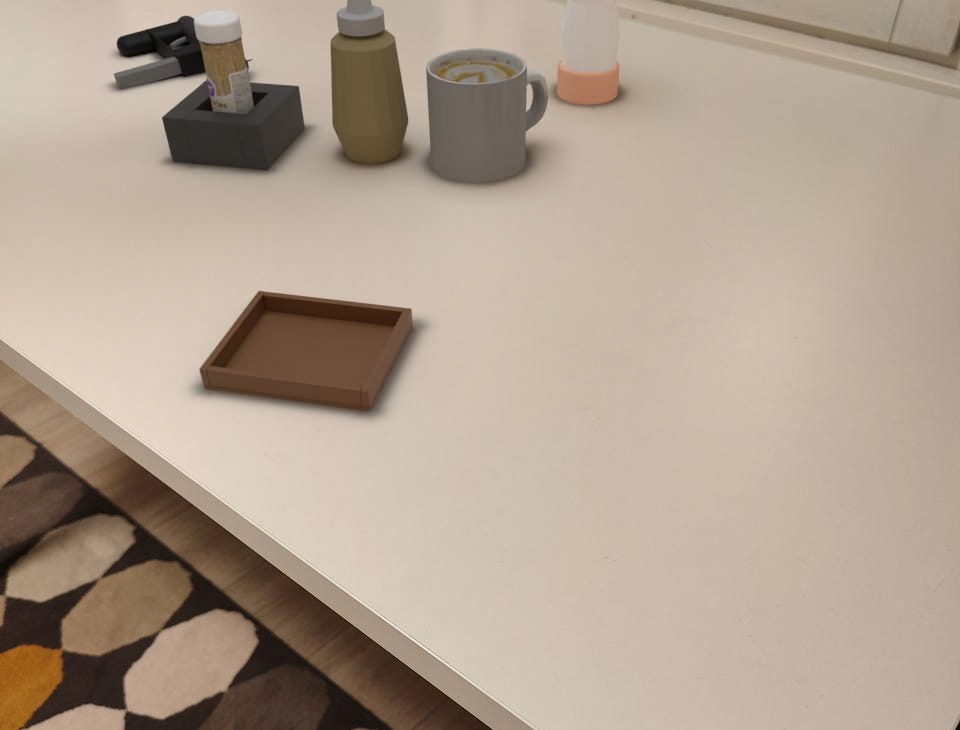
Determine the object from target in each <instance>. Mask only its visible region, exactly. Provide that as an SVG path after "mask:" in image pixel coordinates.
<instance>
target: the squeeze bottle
mask: <svg viewBox="0 0 960 730" xmlns="http://www.w3.org/2000/svg"><path fill="white" fill-rule="evenodd" d="M384 11H385V10H384V9H383V8H381V7H380V6H376V5H373V3H372V0H346V6H345V7H342V8H340V9H339V10H338V11H336V22H337V30H338V32H337V33H335V34H334V36H333V37H332V38H331V39H330V77H331V113H332V114H331V118H332V121H331V122H332V123H331V124H332V127H333V129H334V132H335V135H336V136H337V138H338V141H339V142H340V144H341V147H342V149H343V151H344V154H345V156H346V157H347V158H348V160H350V161H353V162H355V163H359V164H366V165H374V164H383V163H386V162H390V161H392V160H395V159H396V158H398V157H399V155H400V154H401V153H402V150H403V146H404V145H403V144H404V140H405V137H406V133H407V128H408V125H409V114H408V107H407V102H406V101H407V100H406V97H405V89H404V85H403V78H402V77H403V76H402V72H401V66H400V60H399V55H398V47H397V43H396V37H395V36H394V34H392V33H391V32H390V31H389V30H387V29H386V25H385V13H384Z"/></svg>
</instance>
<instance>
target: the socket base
mask: <svg viewBox="0 0 960 730" xmlns="http://www.w3.org/2000/svg"><path fill="white" fill-rule="evenodd" d="M250 86H251V92H252V98H253V104H254V108H253V109H252V110H251V111H250V112H249V113H247V114H239V113H226V112H214V111H213V109H212V104H211V98H210V93H209V88H208V83H207V79H206V80H205V81H204V82H202V83H201V84H200V85H199V86H198V87H196V88H195V89H194V90H192V91H191V92H190V93H189V94H188V95H186V97H184V98H183V99H182V100H181V101H180V102H178V103H177V104H176V105H175V106H174V107H172V108H171V109H170V110H169V111H167V112H166V113H165V114H164V115H163V116H161V120H162V124H163V128H164V132H165V136H166V140H167V144H168V148H169V153H170V157H171V160H172V162H173V163H181V164H190V165H201V166H202V165H203V166H212V167H213V166H214V167H223V168H233V169H246V170H256V171H269V170H270V169H271V167H273V165H274V164H275V163H276V162H277V161H278V160H279V159H280V158H281V156H282V155H283V154H284V153H285V152H286V151H287V150H288V149H289V148H290V146H292V144H294V143H295V141H296V140H297V139H298V138H299V137H300V136H301V135H302V133H303V132H304V131H305V130H306V127H305V119H304V112H303V106H302V99H301V92H300V86H299V85H291V84H278V83H277V84H276V83H263V82H252V81H250Z"/></svg>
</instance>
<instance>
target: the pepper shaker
mask: <svg viewBox="0 0 960 730" xmlns="http://www.w3.org/2000/svg"><path fill="white" fill-rule="evenodd" d="M565 7H566V8H565V13H564V19H563V23H562V28H561V29H562V30H561V44H560V45H561V53H560V55H561V58H560V60H559V61H558V64H557V71H556V72H557V73H556V74H557V76H556V78H557V79H556V95H557V96H558V98H560V99H561V100H563V101H564V102H567V103H571V104H577V105H590V106H591V105H601V104H604V103H608V102H611V101H612V100H614V99H615V98H617V96H618V90H619V79H620V78H619V77H620V63H619V61H618V53H619V52H618V51H619V41H620V21H619V19H620V18H619V5H618V0H567V3H566V6H565Z"/></svg>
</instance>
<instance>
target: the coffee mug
mask: <svg viewBox="0 0 960 730" xmlns="http://www.w3.org/2000/svg"><path fill="white" fill-rule="evenodd" d="M425 70H426V71H425V72H426V73H425V74H426V91H427V109H428V110H427V111H428V131H429V147H430V148H429V149H430V164H431V168H432V170H434V172H435V173H437V174H438V175H440V176H442V177H444V178H446V179H449V180H451V181H452V180H453V181H456V182H463V183H489V182H490V183H491V182H495V181H496V182H497V181H501V180H504V179H507V178H511V177H513V176H514V175H516V174H518V173H519V172H521V171H522V169H524V167H525V165H526V150H527V149H526V146H527V143H526V142H527V132H528V131H529V130H530V129H532V128H534V127H535V126H536V125H537V124H538V123H539V122H540V121H541V120H542V119H543V117H544V115H545V112H546V111H547V107H548V102H549V87H548V84H547V80H546V78H545V76H544V75H543V74H542V73H541V72H540V71H538V70H536V69H533V68H528V66H527V62H526V60H525V59H524V58H522V56H520V55H518V54H515V53H513V52H510V51H507V50H502V49H497V48H496V49H495V48H482V47H481V48H479V47H476V48H475V47H473V48H461V49H455V50H450V51H447V52H444V53H441V54H438V55H436V56H434V57H432V58H431V59H430V60H429V61H428V62H427V64H426V68H425ZM528 85H529V86H531V89H532V90H531V91H532V101H531V104H530V107H529V108H528V110H527V91H528V90H527V88H528V87H527V86H528Z"/></svg>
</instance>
